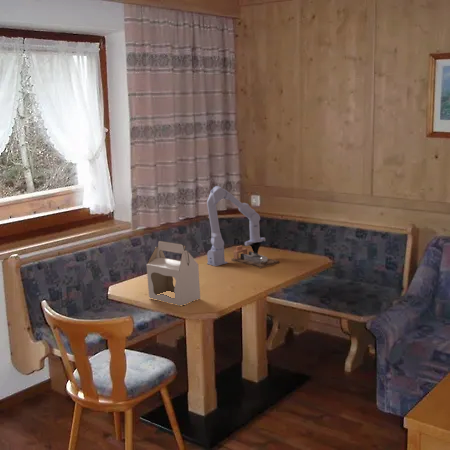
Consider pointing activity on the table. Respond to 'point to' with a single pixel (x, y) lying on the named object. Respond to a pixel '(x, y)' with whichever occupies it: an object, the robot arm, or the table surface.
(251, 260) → the base
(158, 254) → the gable box
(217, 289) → the table surface
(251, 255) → the tongs arm
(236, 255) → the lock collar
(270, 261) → the walnut board
